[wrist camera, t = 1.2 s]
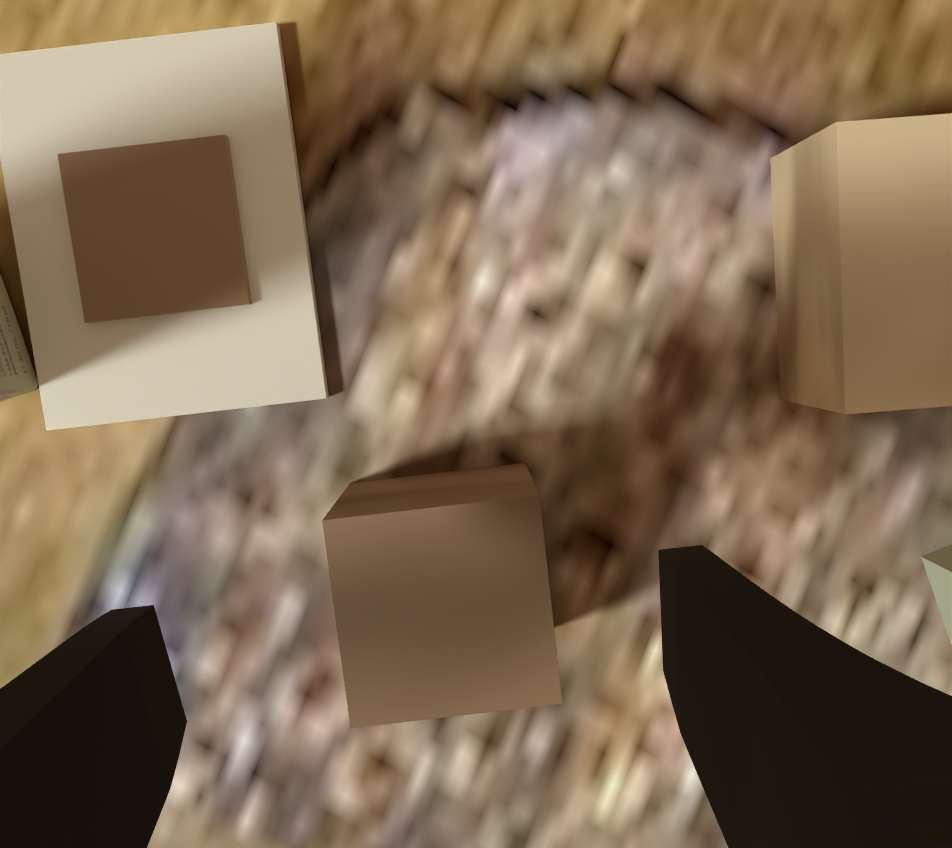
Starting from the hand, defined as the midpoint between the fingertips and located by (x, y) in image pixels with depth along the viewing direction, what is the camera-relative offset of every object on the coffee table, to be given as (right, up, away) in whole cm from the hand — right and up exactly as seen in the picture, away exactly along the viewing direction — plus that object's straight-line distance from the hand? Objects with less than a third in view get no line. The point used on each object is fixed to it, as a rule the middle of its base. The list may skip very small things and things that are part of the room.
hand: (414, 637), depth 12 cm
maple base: (+11, +7, +10) cm, 16 cm away
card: (-7, +8, +9) cm, 14 cm away
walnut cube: (0, 0, +10) cm, 10 cm away
